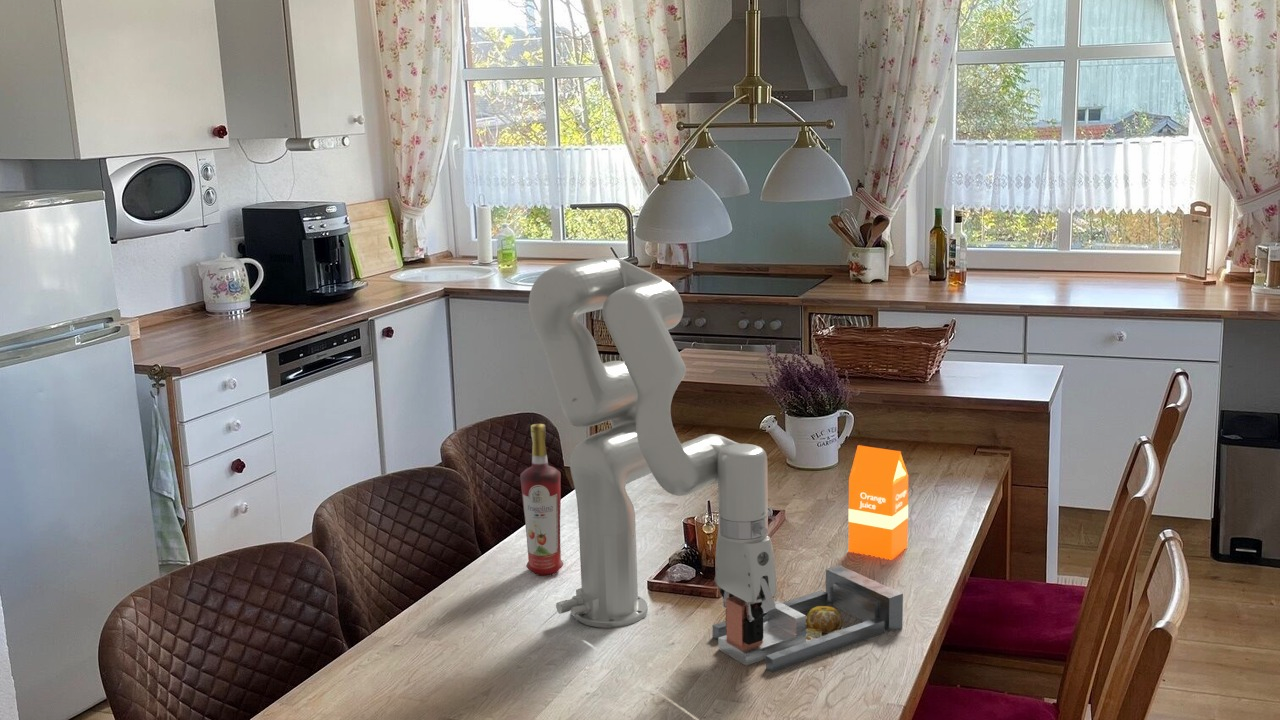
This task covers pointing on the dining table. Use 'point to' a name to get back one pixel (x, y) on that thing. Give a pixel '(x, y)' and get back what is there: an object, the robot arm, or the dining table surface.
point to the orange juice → (878, 503)
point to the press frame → (850, 596)
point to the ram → (777, 632)
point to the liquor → (542, 508)
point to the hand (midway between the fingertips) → (744, 635)
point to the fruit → (822, 621)
